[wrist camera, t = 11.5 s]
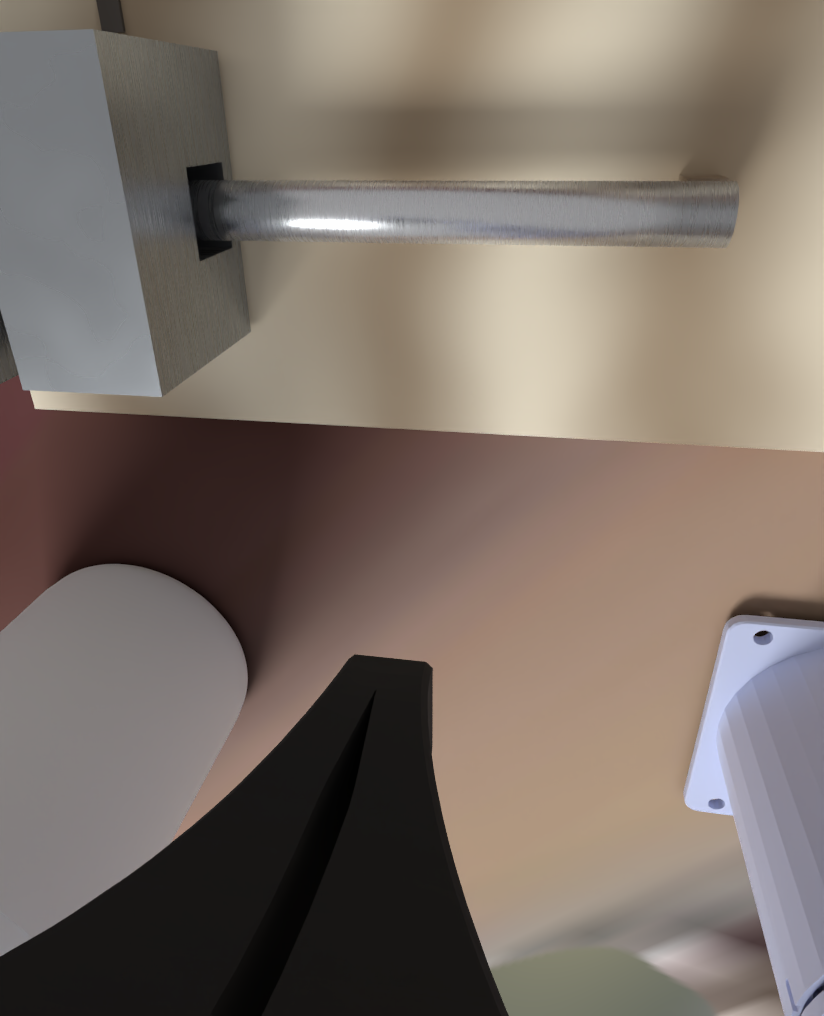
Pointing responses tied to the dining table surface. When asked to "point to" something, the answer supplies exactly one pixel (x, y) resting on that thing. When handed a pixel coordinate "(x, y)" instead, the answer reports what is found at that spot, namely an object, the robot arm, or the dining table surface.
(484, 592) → the dining table surface
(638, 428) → the bolt board
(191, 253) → the grey block with hole
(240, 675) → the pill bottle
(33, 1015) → the robot arm
